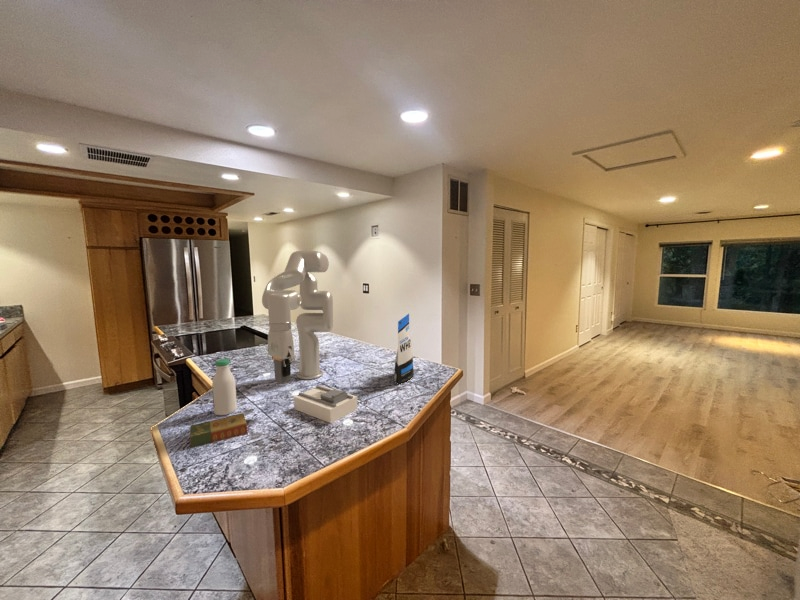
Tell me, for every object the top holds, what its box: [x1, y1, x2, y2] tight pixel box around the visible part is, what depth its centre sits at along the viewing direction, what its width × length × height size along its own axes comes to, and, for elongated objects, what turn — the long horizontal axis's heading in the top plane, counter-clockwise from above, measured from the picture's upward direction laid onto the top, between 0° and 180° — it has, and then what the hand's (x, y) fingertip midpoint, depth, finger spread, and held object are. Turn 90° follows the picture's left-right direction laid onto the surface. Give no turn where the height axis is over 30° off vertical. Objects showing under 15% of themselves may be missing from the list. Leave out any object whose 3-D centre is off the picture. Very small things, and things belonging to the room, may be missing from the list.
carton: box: [189, 412, 248, 448], centre depth 108 cm, size 8×16×4 cm, turn 123°
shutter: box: [321, 388, 348, 404], centre depth 123 cm, size 7×7×3 cm
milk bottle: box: [211, 358, 238, 416], centre depth 124 cm, size 8×8×20 cm
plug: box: [272, 355, 292, 385], centre depth 123 cm, size 5×5×10 cm
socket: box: [293, 384, 358, 424], centre depth 127 cm, size 20×14×6 cm
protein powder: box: [393, 313, 415, 386], centre depth 161 cm, size 10×24×30 cm, turn 167°
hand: (282, 373), depth 123 cm, fingers closed on plug, 4 cm apart
